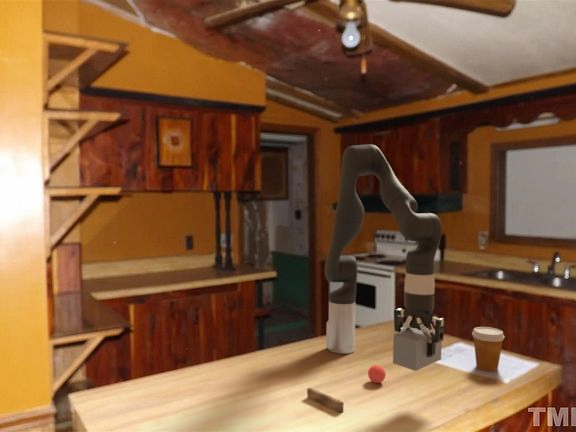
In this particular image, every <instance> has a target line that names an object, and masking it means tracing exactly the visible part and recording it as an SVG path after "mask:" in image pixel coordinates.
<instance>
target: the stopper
mask: <svg viewBox="0 0 576 432" xmlns="http://www.w3.org/2000/svg"><path fill="white" fill-rule="evenodd" d="M306 391H307V393H306V394H307V396H306V398H307V399H309V400H312V401H313V402H316V403H319V404H320V405H322V406H324V407H327V408H329V409H331V410H334V411H335V412H338V413H339V414H342V413H344V401H342V400H339V399H337V398H335V397H333V396H330V395H329V394H325V393H324V392H321V391H319V390H316V389H314V388H312V387H307V389H306Z"/></svg>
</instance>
